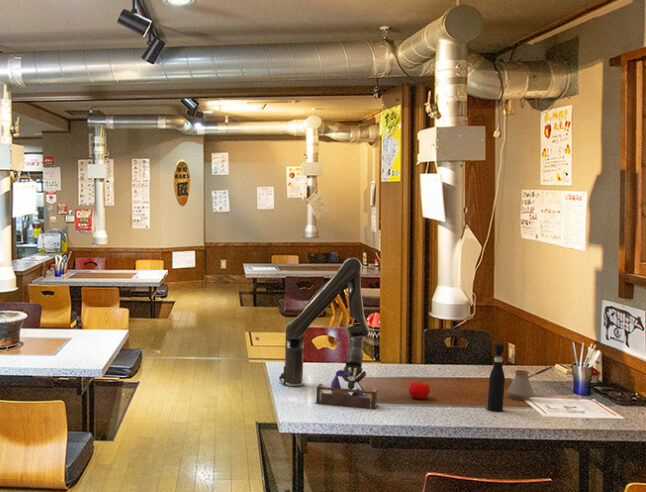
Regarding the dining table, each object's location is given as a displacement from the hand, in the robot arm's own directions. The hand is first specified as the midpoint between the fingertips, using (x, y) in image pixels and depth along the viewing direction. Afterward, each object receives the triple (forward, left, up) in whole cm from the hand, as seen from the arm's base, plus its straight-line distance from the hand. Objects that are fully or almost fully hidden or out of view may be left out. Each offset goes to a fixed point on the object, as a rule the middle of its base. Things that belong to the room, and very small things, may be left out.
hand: (350, 388), depth 356 cm
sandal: (+1, -2, -6) cm, 6 cm away
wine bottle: (+63, +7, -6) cm, 64 cm away
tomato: (+30, +16, -6) cm, 35 cm away
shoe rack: (-1, -8, -6) cm, 10 cm away
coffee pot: (+79, +35, -6) cm, 87 cm away
